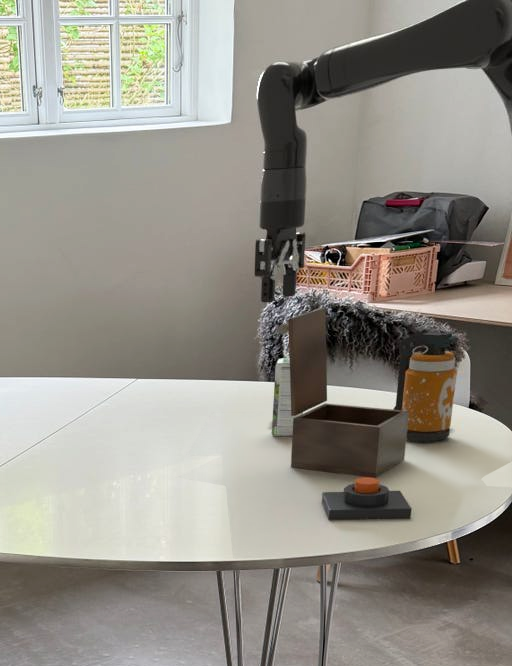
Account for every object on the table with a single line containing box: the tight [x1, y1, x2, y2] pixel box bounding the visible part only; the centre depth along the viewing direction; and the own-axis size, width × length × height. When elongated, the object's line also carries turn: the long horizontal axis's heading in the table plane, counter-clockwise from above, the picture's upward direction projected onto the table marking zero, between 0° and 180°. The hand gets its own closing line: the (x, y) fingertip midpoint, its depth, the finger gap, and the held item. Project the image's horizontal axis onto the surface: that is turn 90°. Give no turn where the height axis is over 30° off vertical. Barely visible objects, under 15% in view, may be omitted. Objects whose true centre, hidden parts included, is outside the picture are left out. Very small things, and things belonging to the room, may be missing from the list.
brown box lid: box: [277, 307, 328, 416], centre depth 171 cm, size 17×13×5 cm
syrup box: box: [271, 357, 304, 437], centre depth 191 cm, size 6×6×14 cm
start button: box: [354, 476, 380, 493], centre depth 147 cm, size 4×4×2 cm
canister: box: [392, 329, 459, 443], centre depth 180 cm, size 9×11×20 cm
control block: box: [321, 483, 412, 521], centre depth 148 cm, size 12×9×4 cm
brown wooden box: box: [290, 402, 409, 479], centre depth 170 cm, size 16×13×9 cm
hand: (278, 298), depth 169 cm, fingers open, 7 cm apart
